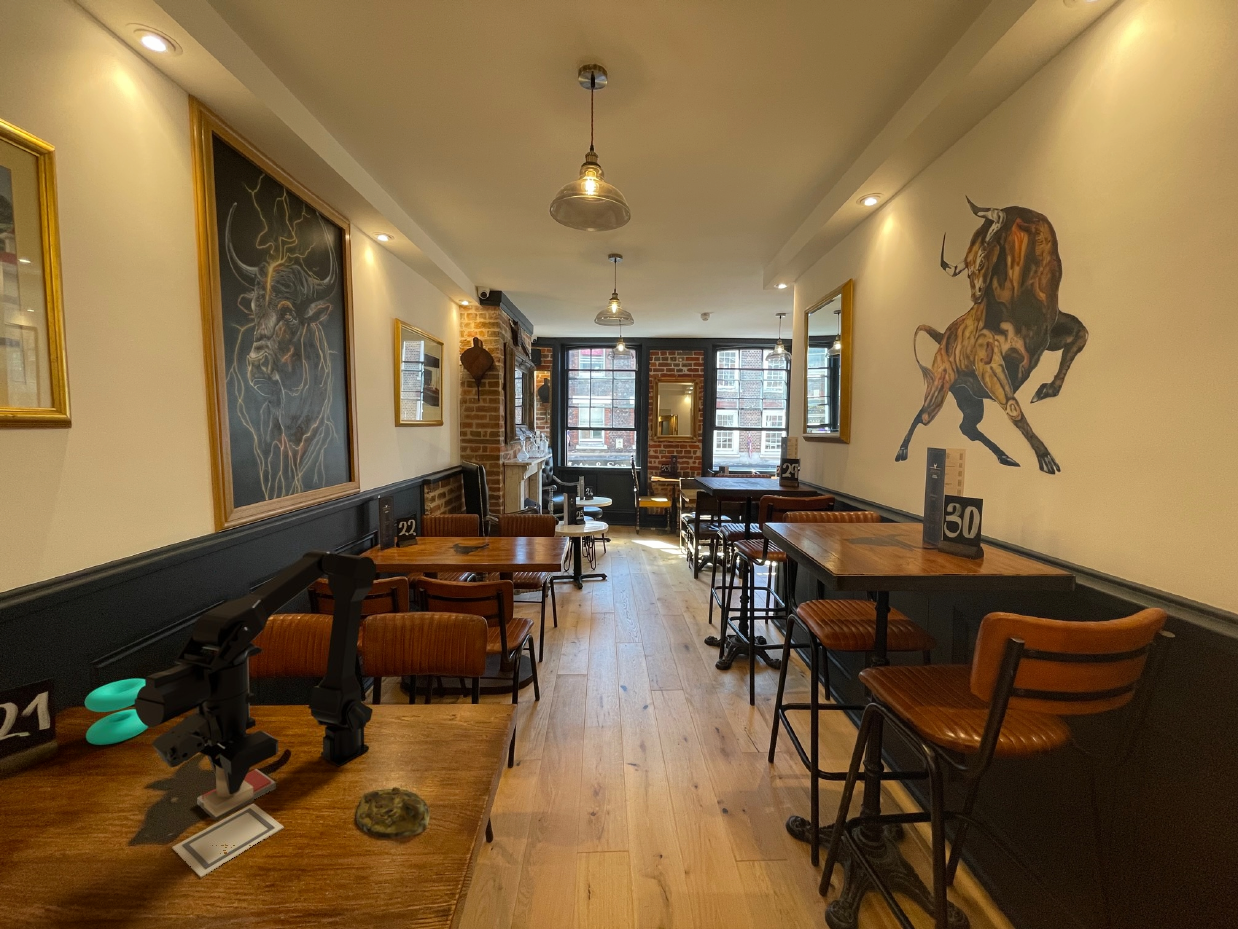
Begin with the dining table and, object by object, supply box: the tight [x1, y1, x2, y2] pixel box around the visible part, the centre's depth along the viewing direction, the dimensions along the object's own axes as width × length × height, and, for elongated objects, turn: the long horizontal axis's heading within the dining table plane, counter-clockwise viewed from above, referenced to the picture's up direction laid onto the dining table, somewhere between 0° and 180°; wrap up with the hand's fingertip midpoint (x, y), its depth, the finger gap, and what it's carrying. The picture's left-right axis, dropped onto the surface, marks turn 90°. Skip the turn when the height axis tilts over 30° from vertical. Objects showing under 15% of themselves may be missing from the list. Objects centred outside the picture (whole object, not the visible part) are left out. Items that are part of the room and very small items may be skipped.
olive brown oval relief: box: [355, 786, 430, 839], centre depth 85 cm, size 9×5×15 cm
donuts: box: [84, 678, 149, 746], centre depth 107 cm, size 10×10×10 cm
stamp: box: [203, 753, 255, 822], centre depth 79 cm, size 5×4×8 cm
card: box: [171, 803, 285, 879], centre depth 80 cm, size 11×10×1 cm
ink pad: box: [196, 768, 277, 811], centre depth 89 cm, size 9×7×2 cm
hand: (228, 788), depth 80 cm, fingers closed on stamp, 3 cm apart
